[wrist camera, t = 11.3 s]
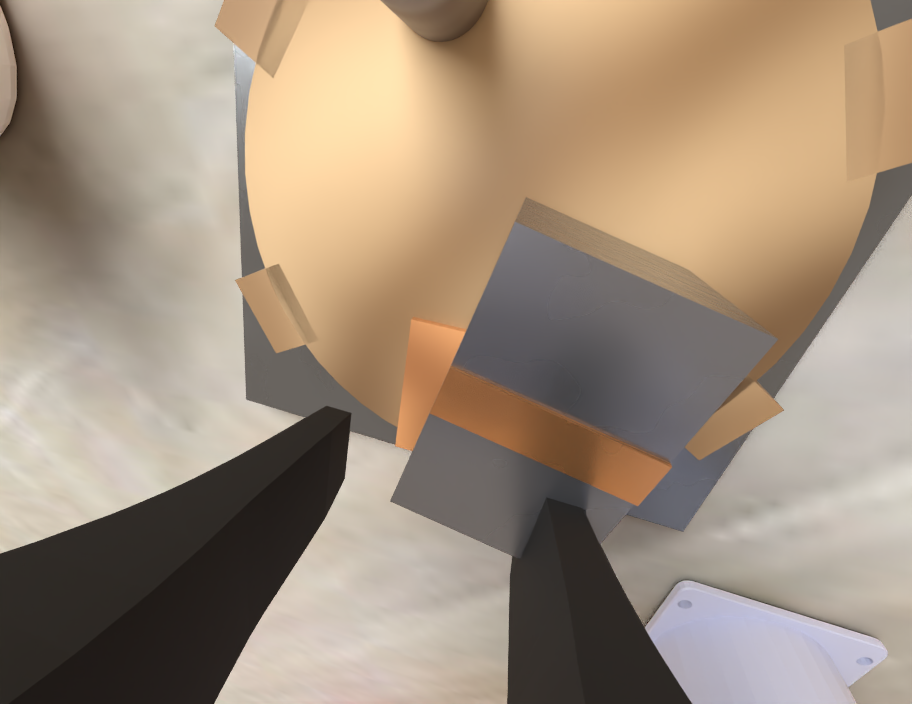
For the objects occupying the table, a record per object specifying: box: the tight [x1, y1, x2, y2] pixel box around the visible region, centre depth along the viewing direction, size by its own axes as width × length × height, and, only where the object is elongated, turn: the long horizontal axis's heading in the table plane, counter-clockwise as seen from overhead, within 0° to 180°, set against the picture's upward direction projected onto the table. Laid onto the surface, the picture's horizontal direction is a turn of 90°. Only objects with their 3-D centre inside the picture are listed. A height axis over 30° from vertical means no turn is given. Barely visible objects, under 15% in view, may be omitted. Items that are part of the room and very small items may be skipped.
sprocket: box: [215, 0, 912, 460], centre depth 9 cm, size 16×15×6 cm
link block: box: [391, 197, 778, 559], centre depth 9 cm, size 6×4×4 cm, turn 159°
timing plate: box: [234, 0, 912, 531], centre depth 12 cm, size 18×17×1 cm
